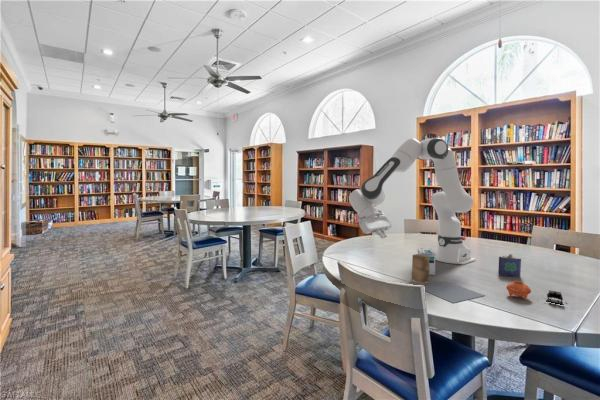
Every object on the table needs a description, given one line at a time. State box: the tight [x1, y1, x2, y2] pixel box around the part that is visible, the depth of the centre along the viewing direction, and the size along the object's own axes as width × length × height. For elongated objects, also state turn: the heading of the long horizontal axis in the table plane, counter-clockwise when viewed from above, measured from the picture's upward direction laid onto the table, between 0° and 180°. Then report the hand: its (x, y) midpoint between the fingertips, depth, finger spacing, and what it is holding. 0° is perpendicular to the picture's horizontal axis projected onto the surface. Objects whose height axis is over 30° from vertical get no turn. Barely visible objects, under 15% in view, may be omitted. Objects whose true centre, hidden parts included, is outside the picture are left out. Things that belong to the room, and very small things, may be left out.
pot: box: [506, 280, 532, 300], centre depth 120 cm, size 8×8×7 cm
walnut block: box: [411, 253, 430, 285], centre depth 137 cm, size 5×5×12 cm
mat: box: [423, 280, 486, 304], centre depth 126 cm, size 18×18×1 cm
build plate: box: [546, 290, 564, 305], centre depth 115 cm, size 12×7×5 cm, turn 53°
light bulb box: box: [417, 247, 436, 276], centre depth 152 cm, size 11×7×11 cm, turn 168°
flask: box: [497, 253, 522, 277], centre depth 146 cm, size 9×3×11 cm, turn 74°
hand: (384, 237), depth 152 cm, fingers closed
